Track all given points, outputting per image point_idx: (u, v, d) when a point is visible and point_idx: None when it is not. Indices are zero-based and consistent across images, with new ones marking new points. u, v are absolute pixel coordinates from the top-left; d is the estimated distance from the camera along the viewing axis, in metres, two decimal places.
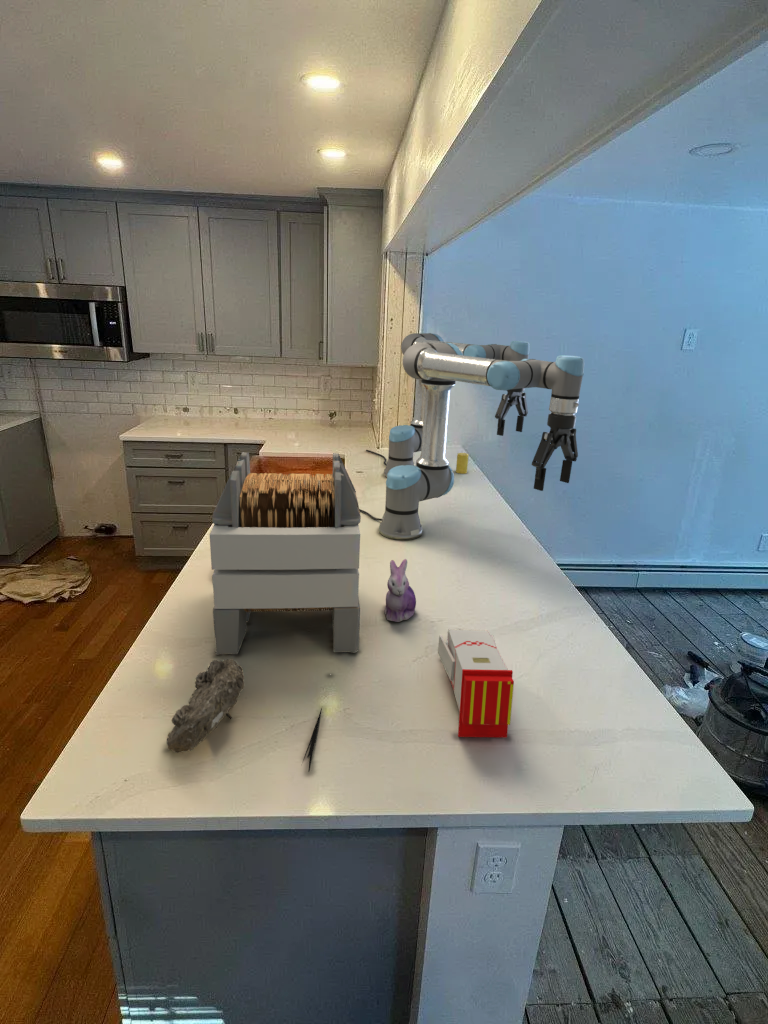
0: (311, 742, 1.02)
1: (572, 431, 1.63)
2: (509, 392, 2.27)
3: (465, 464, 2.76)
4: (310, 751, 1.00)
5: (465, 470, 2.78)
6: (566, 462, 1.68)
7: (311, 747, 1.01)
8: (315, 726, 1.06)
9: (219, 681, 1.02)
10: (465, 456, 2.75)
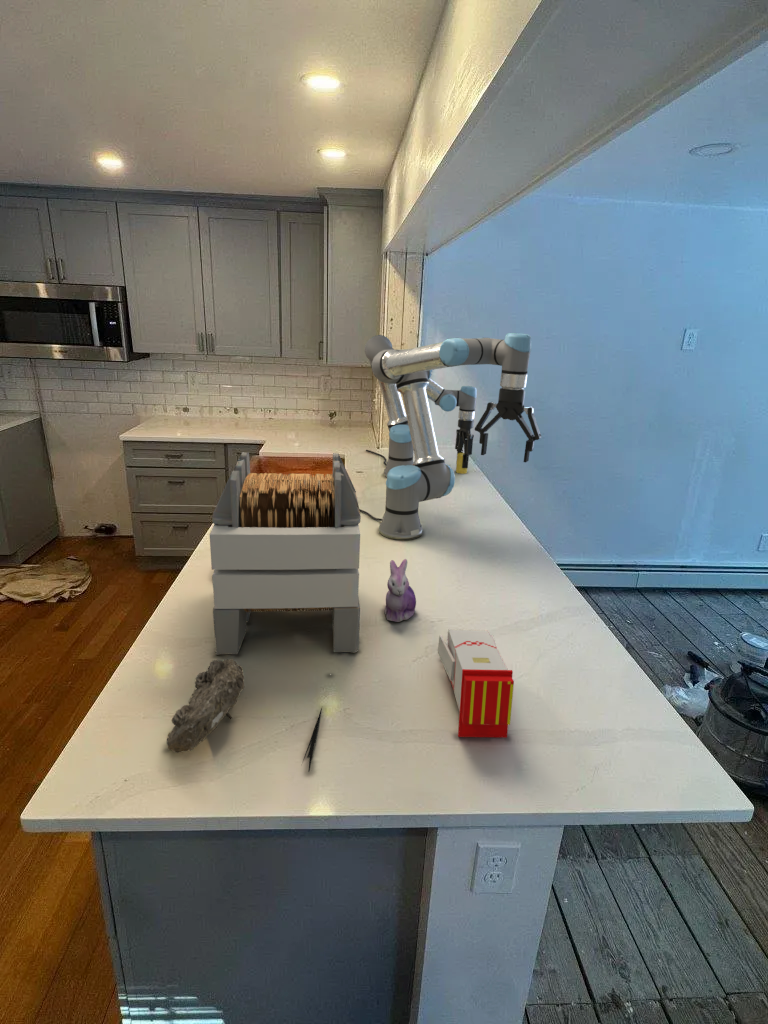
0: (311, 742, 1.02)
1: None
2: (469, 429, 2.69)
3: None
4: (310, 751, 1.00)
5: (465, 470, 2.78)
6: (486, 435, 1.76)
7: (311, 747, 1.01)
8: (315, 726, 1.06)
9: (219, 681, 1.02)
10: None
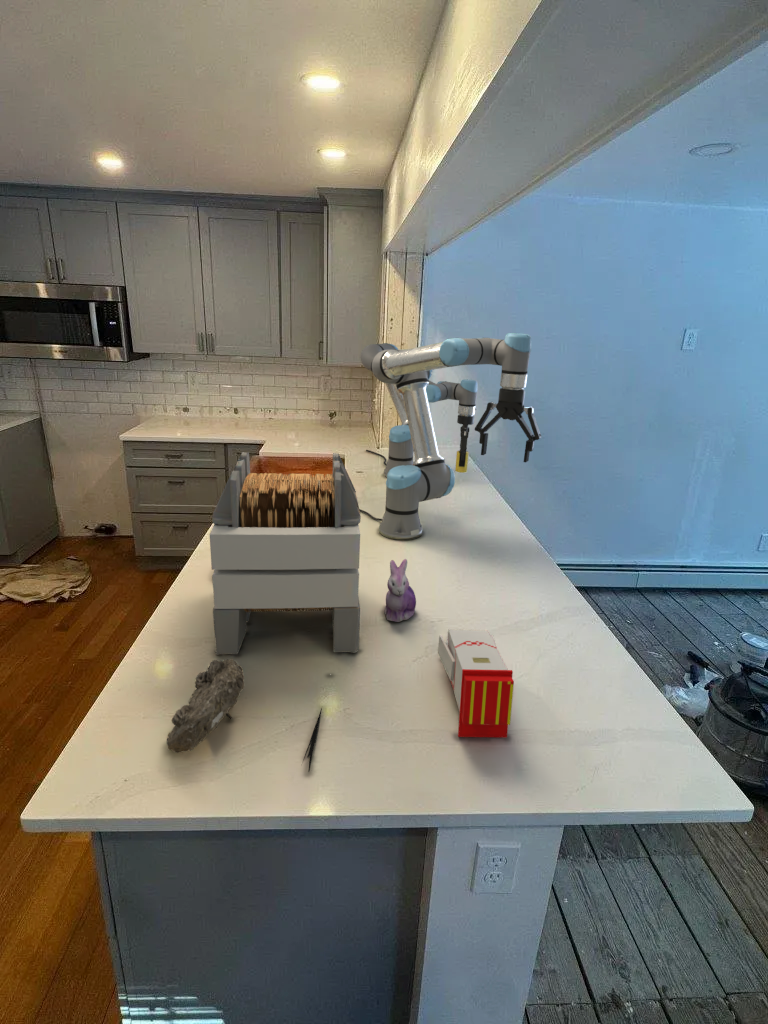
0: (311, 742, 1.02)
1: None
2: (465, 425, 2.53)
3: None
4: (310, 751, 1.00)
5: (463, 469, 2.61)
6: (486, 435, 1.76)
7: (311, 747, 1.01)
8: (315, 726, 1.06)
9: (219, 681, 1.02)
10: None
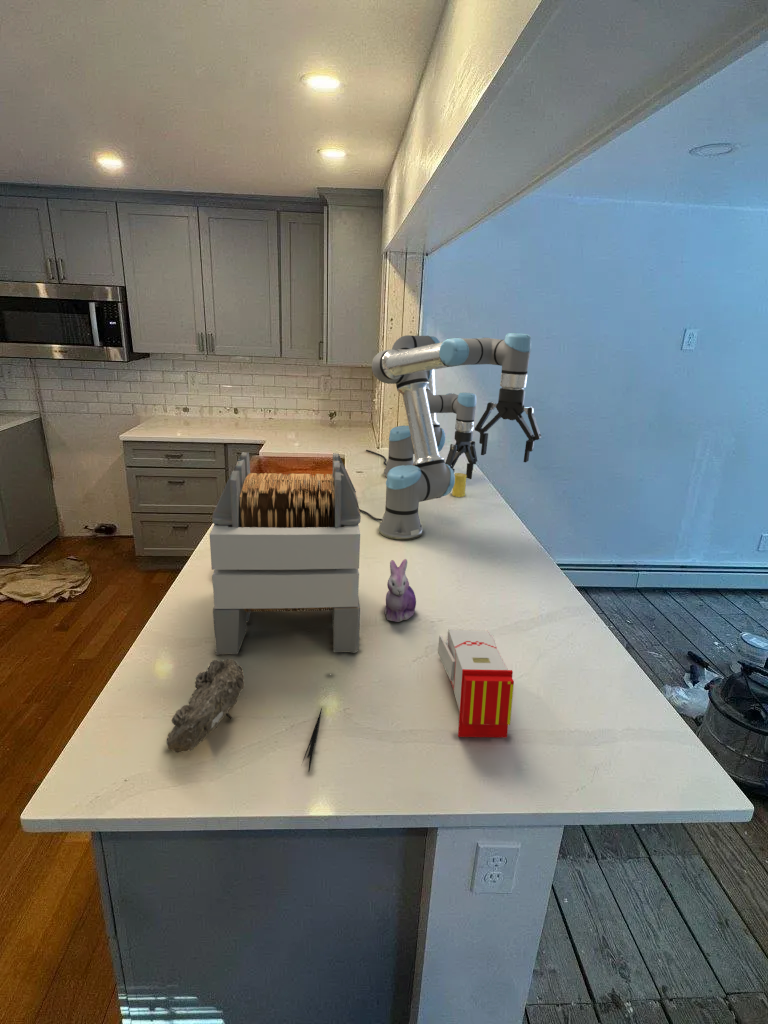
0: (311, 742, 1.02)
1: None
2: (457, 442, 2.34)
3: (456, 486, 2.41)
4: (310, 751, 1.00)
5: (456, 493, 2.42)
6: (486, 435, 1.76)
7: (311, 747, 1.01)
8: (315, 726, 1.06)
9: (219, 681, 1.02)
10: (456, 476, 2.40)
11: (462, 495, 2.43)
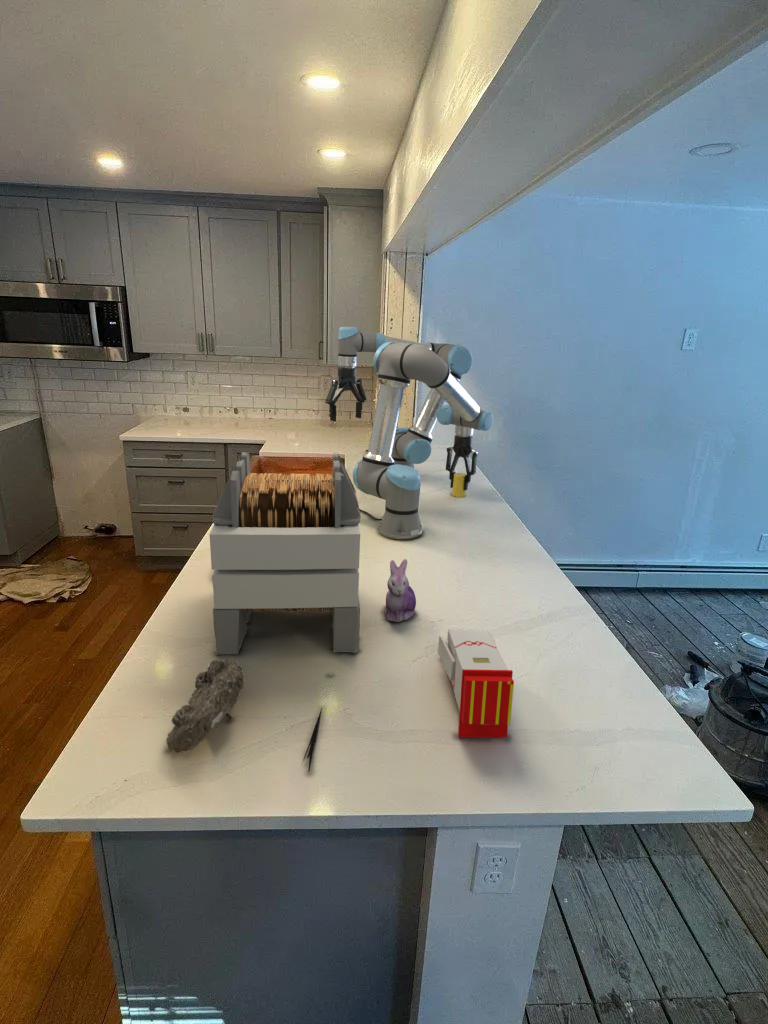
0: (311, 742, 1.02)
1: None
2: (339, 378, 2.28)
3: (456, 486, 2.41)
4: (310, 751, 1.00)
5: (456, 493, 2.42)
6: (454, 473, 2.43)
7: (311, 747, 1.01)
8: (315, 726, 1.06)
9: (219, 681, 1.02)
10: (456, 476, 2.40)
11: (462, 495, 2.43)
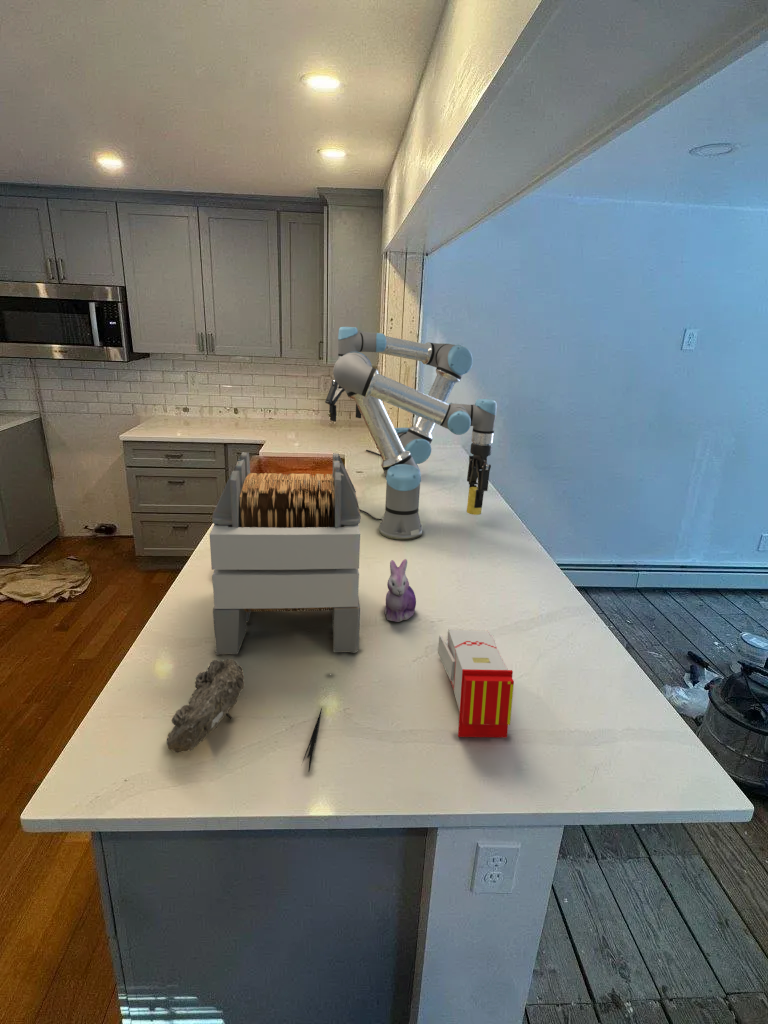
0: (311, 742, 1.02)
1: None
2: None
3: (468, 500, 2.09)
4: (310, 751, 1.00)
5: (467, 508, 2.10)
6: None
7: (311, 747, 1.01)
8: (315, 726, 1.06)
9: (219, 681, 1.02)
10: (469, 489, 2.08)
11: (473, 513, 2.09)
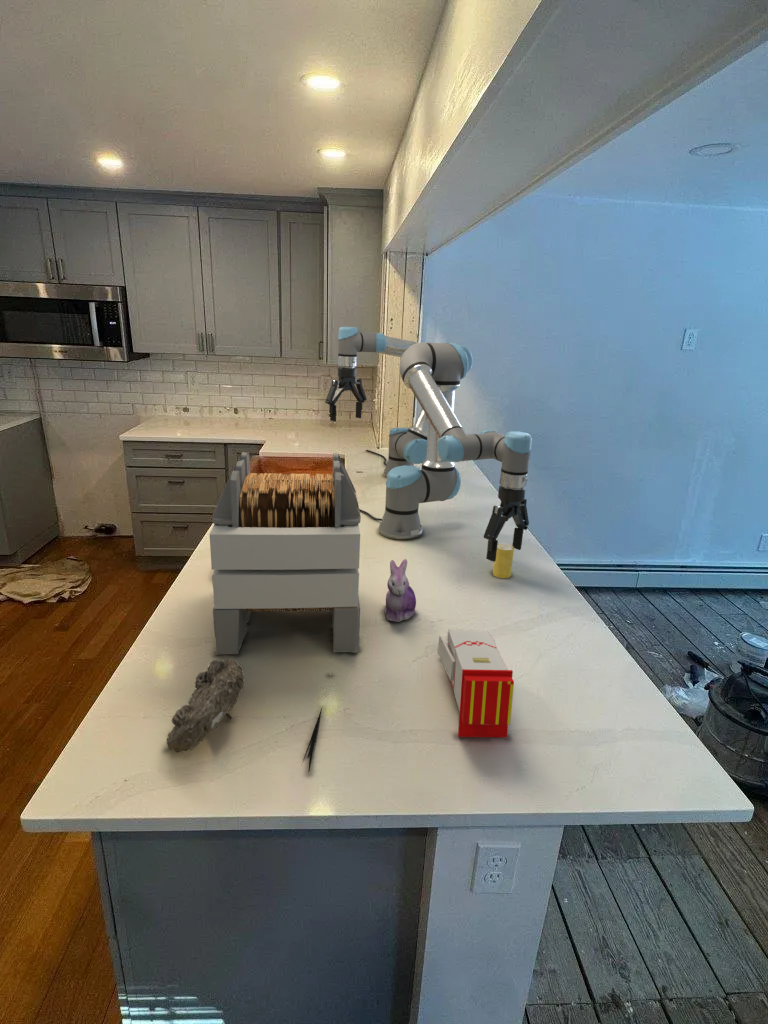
0: (311, 742, 1.02)
1: (522, 501, 1.68)
2: (339, 378, 2.28)
3: None
4: (310, 751, 1.00)
5: None
6: (517, 530, 1.72)
7: (311, 747, 1.01)
8: (315, 726, 1.06)
9: (219, 681, 1.02)
10: None
11: (493, 573, 1.72)
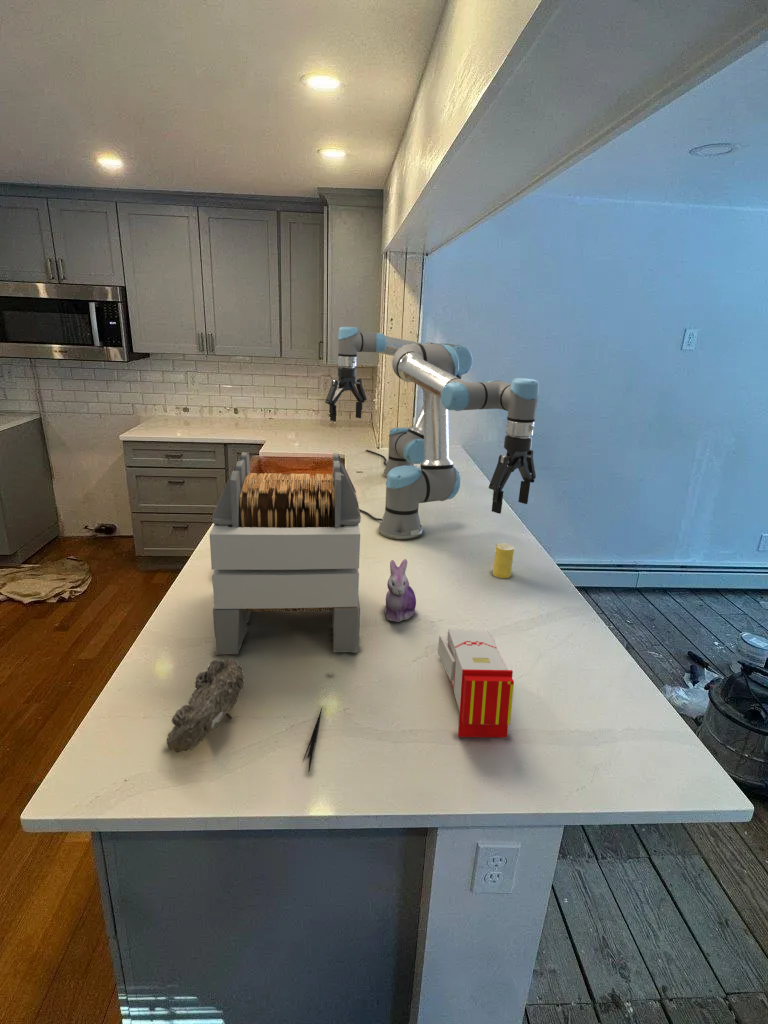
0: (311, 742, 1.02)
1: (529, 453, 1.63)
2: (339, 378, 2.28)
3: None
4: (310, 751, 1.00)
5: None
6: (524, 483, 1.67)
7: (311, 747, 1.01)
8: (315, 726, 1.06)
9: (219, 681, 1.02)
10: None
11: (493, 573, 1.72)
